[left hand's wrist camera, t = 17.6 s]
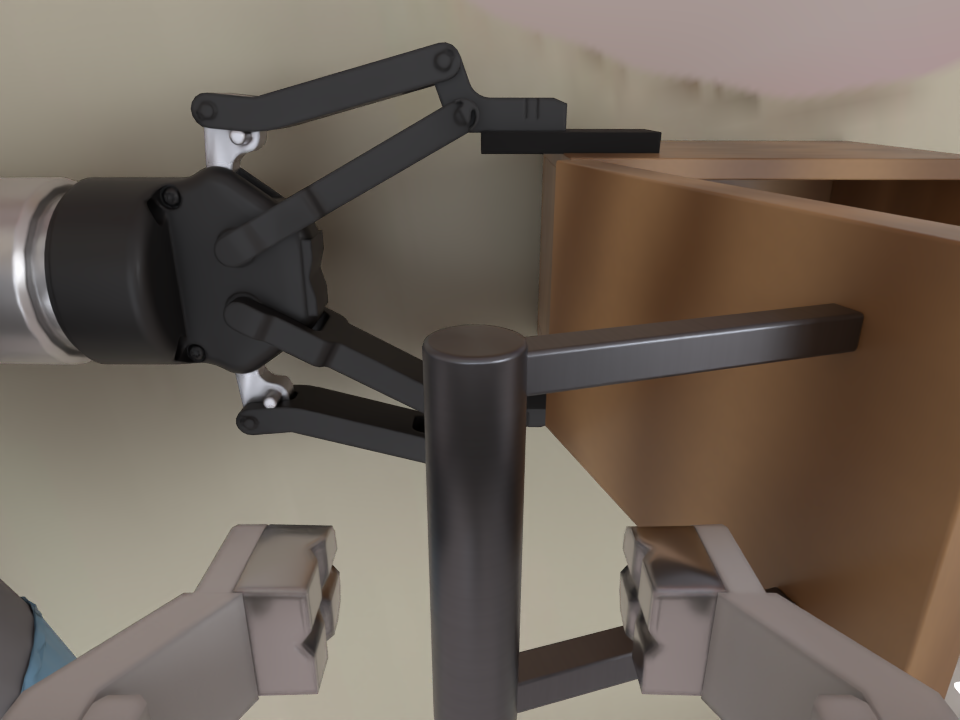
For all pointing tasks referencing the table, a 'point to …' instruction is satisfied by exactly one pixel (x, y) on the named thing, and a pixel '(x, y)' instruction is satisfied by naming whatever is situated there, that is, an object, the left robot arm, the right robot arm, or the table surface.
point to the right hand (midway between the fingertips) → (639, 272)
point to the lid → (709, 421)
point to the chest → (785, 180)
